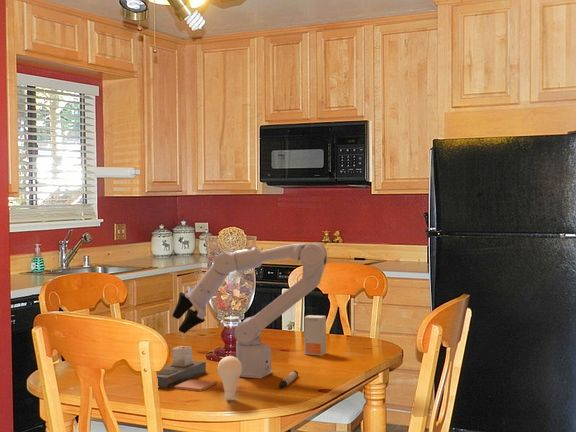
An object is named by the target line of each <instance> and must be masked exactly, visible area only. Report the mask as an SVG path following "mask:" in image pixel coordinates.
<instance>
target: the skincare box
mask: <svg viewBox="0 0 576 432" xmlns="http://www.w3.org/2000/svg"><path fill="white" fill-rule="evenodd" d="M303 321H304V325H303V326H304V330H303V331H304V335H303V336H304V337H303V338H304V347H303V348H304V351H303V352H304V355H310V356H321V357H323V356H324V355H325V354H327V316H326V315H319V314H318V315H313V314H309V315H305V316H304V319H303Z"/></svg>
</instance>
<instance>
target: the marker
mask: <svg viewBox="0 0 576 432" xmlns="http://www.w3.org/2000/svg"><path fill="white" fill-rule="evenodd" d="M298 376H299V372H298V371H297V370H292V371H291V372H290V373H289V374H288V375H286V376H285V377H284V378H283V379H282V380H281V381H279V383H278V388H279V389H285V388H286V387H288V386H289V385H290V384H291V383H292V382H293V381H294V380H296V379H297V377H298Z"/></svg>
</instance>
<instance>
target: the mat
mask: <svg viewBox="0 0 576 432" xmlns="http://www.w3.org/2000/svg"><path fill="white" fill-rule="evenodd" d="M216 384H217V382H216V381H211V380H210V381H209V380H203V379H193V378H191V379H189V380H187V381H185V382H182V383H180V384H178V385H175V386H173V387H174V388H173V389H174V390H175V389H176V390H184V389H186V391H187V390H188V391H197V392H203V391H204V390H206V389H208V387H209V388H210V386H211V387H212V385H213V386H214V385H216Z"/></svg>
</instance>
